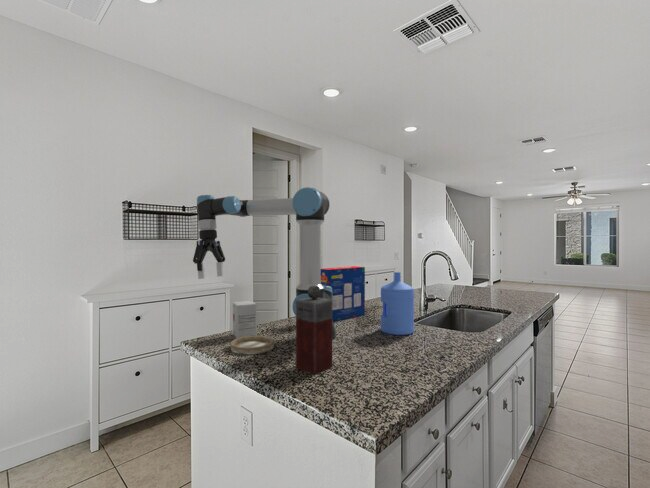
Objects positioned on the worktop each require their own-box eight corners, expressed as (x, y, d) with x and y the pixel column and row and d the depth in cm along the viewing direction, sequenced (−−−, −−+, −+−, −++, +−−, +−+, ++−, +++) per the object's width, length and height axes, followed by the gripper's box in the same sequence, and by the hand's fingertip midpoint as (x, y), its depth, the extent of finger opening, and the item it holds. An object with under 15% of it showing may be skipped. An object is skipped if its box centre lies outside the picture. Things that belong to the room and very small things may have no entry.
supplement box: (232, 334, 160) (232, 302, 160) (251, 332, 164) (251, 300, 164) (236, 339, 152) (236, 305, 152) (257, 336, 156) (256, 303, 156)
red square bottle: (309, 359, 127) (309, 282, 126) (332, 367, 119) (332, 285, 119) (291, 366, 120) (291, 285, 120) (314, 374, 112) (314, 288, 112)
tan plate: (278, 342, 148) (278, 336, 148) (265, 355, 131) (265, 349, 131) (241, 340, 151) (241, 334, 151) (223, 353, 134) (223, 346, 134)
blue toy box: (354, 313, 206) (354, 266, 206) (364, 315, 200) (364, 267, 200) (318, 320, 188) (318, 268, 188) (328, 323, 182) (328, 269, 182)
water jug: (418, 329, 168) (418, 272, 168) (407, 337, 155) (407, 274, 155) (388, 325, 177) (388, 270, 176) (375, 332, 163) (375, 273, 163)
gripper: (217, 232, 169) (220, 276, 168) (181, 229, 145) (185, 280, 144) (230, 230, 166) (234, 274, 165) (196, 227, 142) (200, 279, 142)
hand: (211, 277), depth 155 cm, fingers open, 13 cm apart
